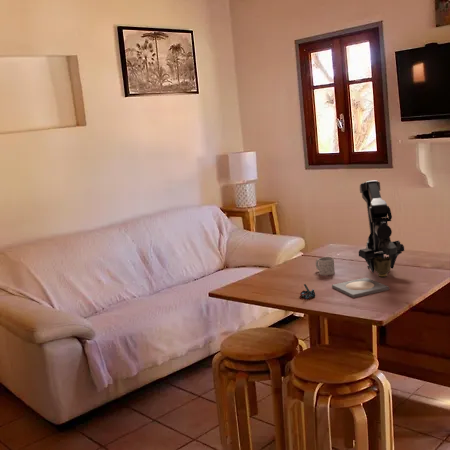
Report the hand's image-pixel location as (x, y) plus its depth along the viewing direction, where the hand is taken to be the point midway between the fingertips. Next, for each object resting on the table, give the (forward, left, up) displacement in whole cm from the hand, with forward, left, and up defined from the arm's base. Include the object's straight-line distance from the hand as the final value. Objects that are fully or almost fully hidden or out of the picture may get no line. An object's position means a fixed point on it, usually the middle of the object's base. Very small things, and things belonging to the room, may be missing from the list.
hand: (382, 270), depth 244 cm
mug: (-21, -16, -3) cm, 27 cm away
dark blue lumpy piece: (+4, -37, -3) cm, 38 cm away
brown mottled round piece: (0, 0, -3) cm, 3 cm away
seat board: (+8, -16, -3) cm, 18 cm away
